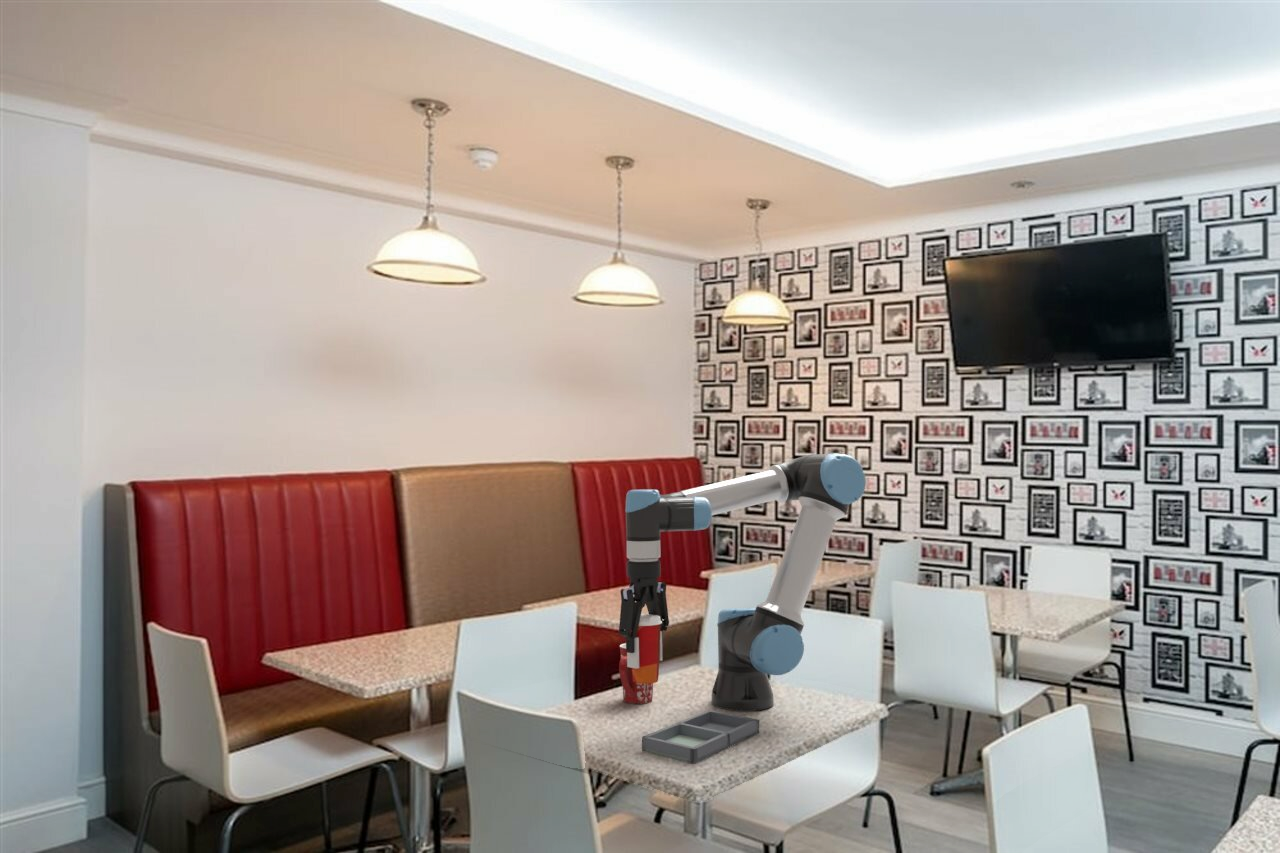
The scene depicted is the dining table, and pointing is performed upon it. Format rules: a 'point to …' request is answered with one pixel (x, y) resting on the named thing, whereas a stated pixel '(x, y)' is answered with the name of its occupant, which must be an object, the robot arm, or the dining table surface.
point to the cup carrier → (700, 736)
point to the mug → (631, 689)
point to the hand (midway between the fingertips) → (645, 663)
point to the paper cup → (648, 649)
